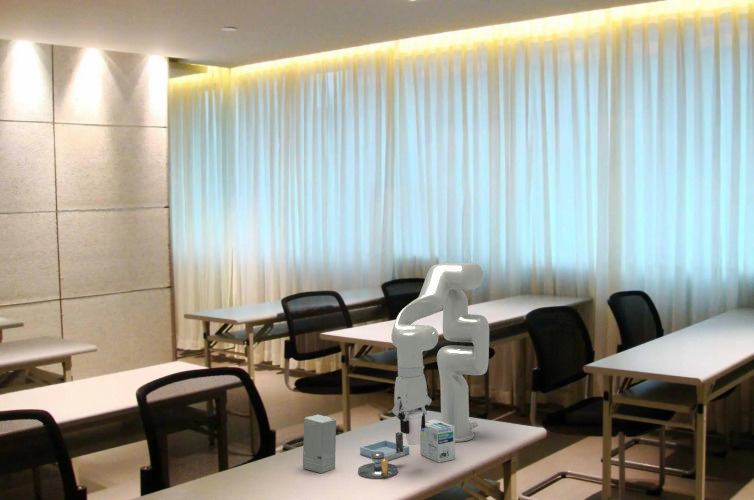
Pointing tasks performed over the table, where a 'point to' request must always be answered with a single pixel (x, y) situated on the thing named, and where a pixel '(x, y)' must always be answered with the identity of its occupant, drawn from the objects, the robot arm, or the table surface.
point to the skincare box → (319, 443)
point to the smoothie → (414, 426)
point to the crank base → (378, 470)
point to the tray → (381, 448)
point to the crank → (399, 452)
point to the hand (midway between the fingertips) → (413, 429)
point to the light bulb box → (437, 441)
